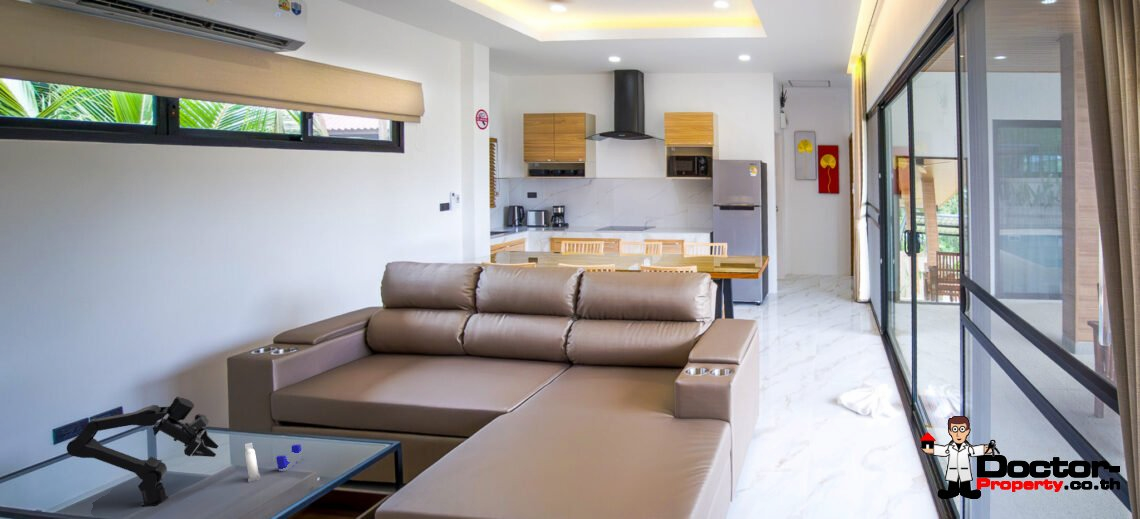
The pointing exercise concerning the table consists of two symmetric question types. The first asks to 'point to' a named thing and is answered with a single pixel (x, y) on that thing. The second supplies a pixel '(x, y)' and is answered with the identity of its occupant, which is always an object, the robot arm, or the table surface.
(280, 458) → the blue blocks
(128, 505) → the table surface
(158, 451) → the table surface
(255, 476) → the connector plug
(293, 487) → the table surface
